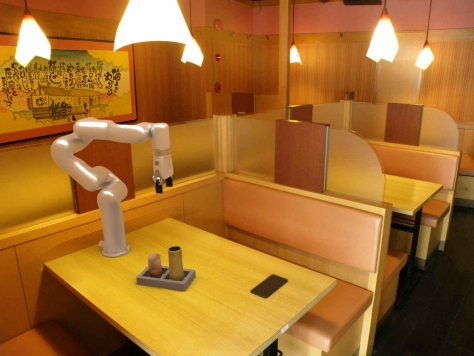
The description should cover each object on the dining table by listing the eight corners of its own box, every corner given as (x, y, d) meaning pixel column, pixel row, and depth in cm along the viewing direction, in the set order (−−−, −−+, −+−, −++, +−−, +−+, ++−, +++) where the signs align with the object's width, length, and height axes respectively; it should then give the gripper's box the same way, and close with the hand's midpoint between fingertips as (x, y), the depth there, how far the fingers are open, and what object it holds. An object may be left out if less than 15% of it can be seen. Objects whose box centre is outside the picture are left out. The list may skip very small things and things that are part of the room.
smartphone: (266, 300, 139) (289, 281, 151) (266, 298, 139) (289, 279, 151) (248, 293, 144) (272, 275, 156) (248, 291, 144) (272, 273, 156)
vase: (181, 286, 149) (179, 252, 145) (167, 284, 150) (164, 251, 146) (187, 278, 154) (184, 245, 151) (172, 276, 156) (170, 244, 152)
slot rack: (136, 284, 151) (136, 277, 151) (150, 270, 161) (149, 264, 161) (184, 291, 146) (184, 284, 145) (195, 276, 156) (195, 270, 155)
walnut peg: (147, 281, 153) (145, 258, 151) (153, 275, 158) (151, 253, 155) (158, 282, 152) (156, 260, 149) (164, 276, 156) (162, 254, 154)
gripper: (160, 156, 156) (163, 196, 160) (178, 148, 172) (180, 185, 176) (143, 155, 158) (147, 195, 162) (163, 147, 174) (165, 184, 178)
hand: (164, 189), depth 169 cm, fingers open, 9 cm apart
